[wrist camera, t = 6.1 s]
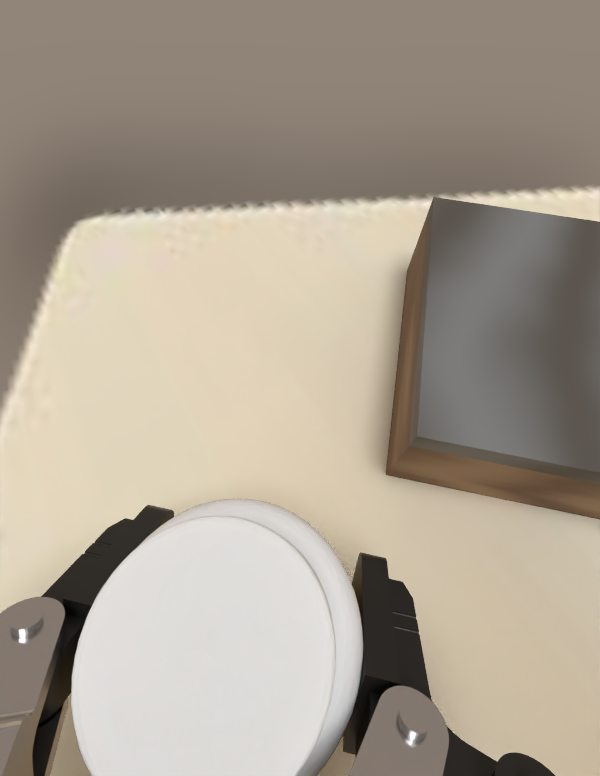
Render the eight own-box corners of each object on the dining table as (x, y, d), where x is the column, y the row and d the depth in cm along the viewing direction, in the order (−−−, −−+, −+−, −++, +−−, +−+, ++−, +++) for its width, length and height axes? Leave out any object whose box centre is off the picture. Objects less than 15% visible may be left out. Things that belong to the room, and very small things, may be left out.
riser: (627, 306, 23) (709, 238, 18) (683, 536, 17) (823, 516, 12) (407, 270, 24) (433, 197, 19) (385, 474, 18) (417, 436, 13)
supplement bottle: (332, 711, 13) (411, 955, 4) (172, 705, 13) (-75, 938, 4) (331, 540, 16) (379, 473, 7) (197, 535, 16) (73, 463, 7)
